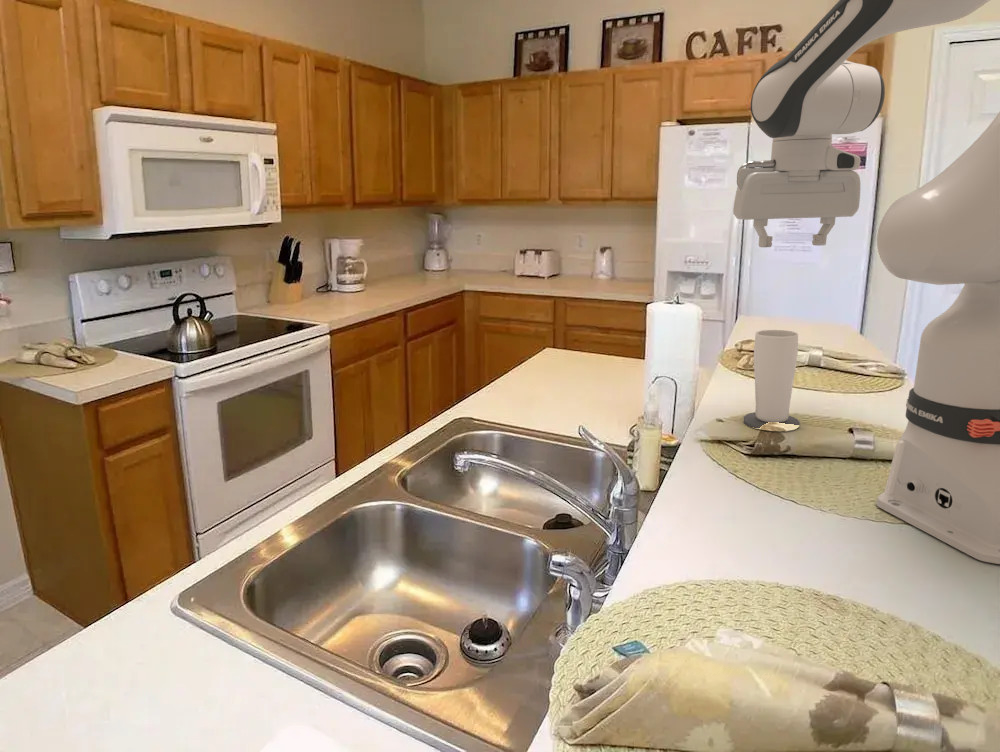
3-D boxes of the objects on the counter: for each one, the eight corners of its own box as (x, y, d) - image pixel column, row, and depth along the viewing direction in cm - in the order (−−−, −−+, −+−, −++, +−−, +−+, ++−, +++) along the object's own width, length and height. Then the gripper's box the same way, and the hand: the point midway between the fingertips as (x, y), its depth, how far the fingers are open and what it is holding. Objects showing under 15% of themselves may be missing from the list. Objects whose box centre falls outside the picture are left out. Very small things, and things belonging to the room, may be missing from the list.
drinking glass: (795, 426, 114) (801, 337, 110) (752, 424, 115) (757, 336, 112) (789, 414, 120) (795, 329, 116) (748, 412, 122) (753, 329, 118)
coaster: (810, 430, 114) (810, 427, 114) (757, 433, 113) (757, 430, 113) (783, 413, 122) (783, 410, 122) (734, 416, 122) (734, 413, 121)
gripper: (747, 160, 107) (740, 249, 111) (870, 157, 109) (860, 245, 113) (729, 161, 113) (724, 246, 117) (847, 159, 115) (838, 242, 119)
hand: (792, 246), depth 115 cm, fingers open, 8 cm apart
